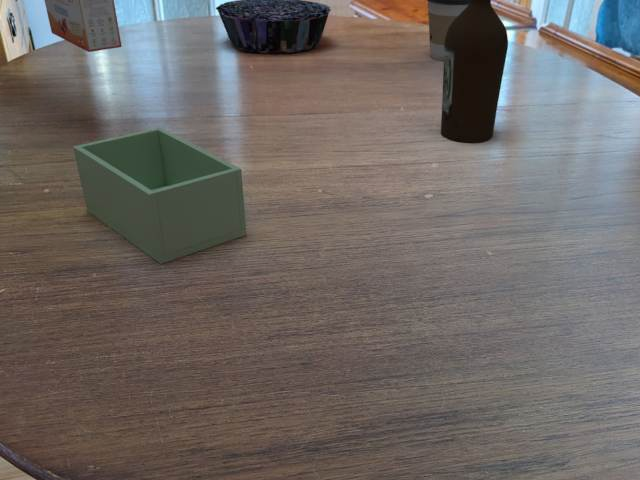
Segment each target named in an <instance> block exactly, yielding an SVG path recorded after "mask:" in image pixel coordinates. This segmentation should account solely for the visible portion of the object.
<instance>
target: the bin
mask: <svg viewBox="0 0 640 480" xmlns="http://www.w3.org/2000/svg"><path fill="white" fill-rule="evenodd" d="M72 149H73V153H74V158H75V161H76V167H77V171H78V176H79V180H80V185H81V189H82V194H83V198H84V202H85V208H86V211H87V212H88V213H89V214H90V215H92V216H93V217H94V218H96V219H97V220H99V221H100V222H101V223H103V224H104V225H105V226H107V227H108V228H110V229H111V230H112V231H115V232H116V233H117V234H118V235H120V236H121V237H123V239H125V240H127V242H129V243H131V244H132V245H133V246H135V247H136V248H138V249H139V250H140V251H142V252H143V253H145V255H147V256H148V257H150V258H151V259H153V260H154V261H155V262H157V263H158V264H159V265H163V264H167V263H169V262H171V261H174V260H177V259H178V260H179V259H180V258H183V257H186V256H188V255H189V256H190V255H192V254H196V253H198V252H200V251H205V250H206V249H210V248H212V247H216V246H219V245H221V244H225V243H228V242H231V241H233V240H236V239H239V238H242V237H245V236H247V235H248V233H247V224H246V223H247V222H246V211H245V199H244V198H245V197H244V188H243V187H244V185H243V174H242V169H241V168H240V167H238V166H237V165H234V164H232V163H230V162H228V161H226V160H225V159H223V158H221V157H219V156H217V155H215V154H214V153H212V152H209V151H207V150H205V149H203V148H202V147H199V146H198V145H195V144H194V143H192V142H189V141H188V140H186V139H184V138H182V137H180V136H178V135H176V134H175V133H172V132H171V131H168V130H167V129H164V128H162V127H161V126H159V127H156V128H155V127H154V128H151V129H147V130H146V129H145V130H142V131H138V132H133V133H129V134H128V133H127V134H124V135H120V136H115V137H109V138H106V139H102V140H97V141H92V142H87V143H82V144H78V145H73V146H72Z"/></svg>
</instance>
